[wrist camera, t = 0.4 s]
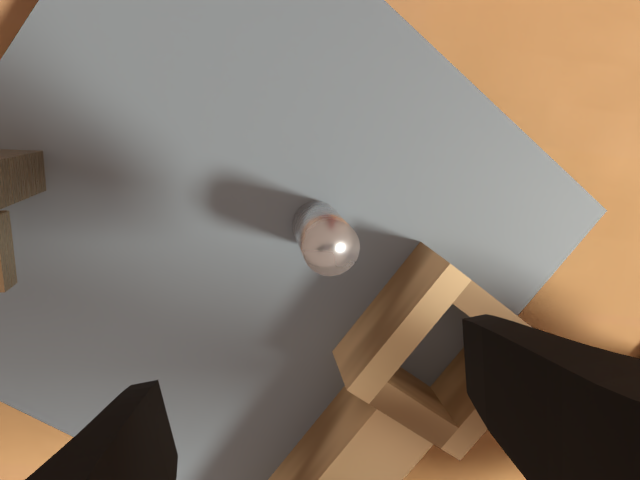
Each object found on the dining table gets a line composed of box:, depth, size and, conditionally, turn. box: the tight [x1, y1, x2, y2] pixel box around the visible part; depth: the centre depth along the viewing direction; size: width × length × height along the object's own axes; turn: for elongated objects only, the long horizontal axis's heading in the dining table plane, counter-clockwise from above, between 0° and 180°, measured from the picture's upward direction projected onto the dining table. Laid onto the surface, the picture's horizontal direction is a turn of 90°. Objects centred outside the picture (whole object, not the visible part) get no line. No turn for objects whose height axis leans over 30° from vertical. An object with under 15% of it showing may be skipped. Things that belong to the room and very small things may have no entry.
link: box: [268, 242, 531, 480], centre depth 20 cm, size 15×6×3 cm, turn 142°
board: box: [0, 0, 607, 480], centre depth 20 cm, size 22×21×1 cm
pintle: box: [292, 201, 360, 276], centre depth 18 cm, size 2×2×4 cm
